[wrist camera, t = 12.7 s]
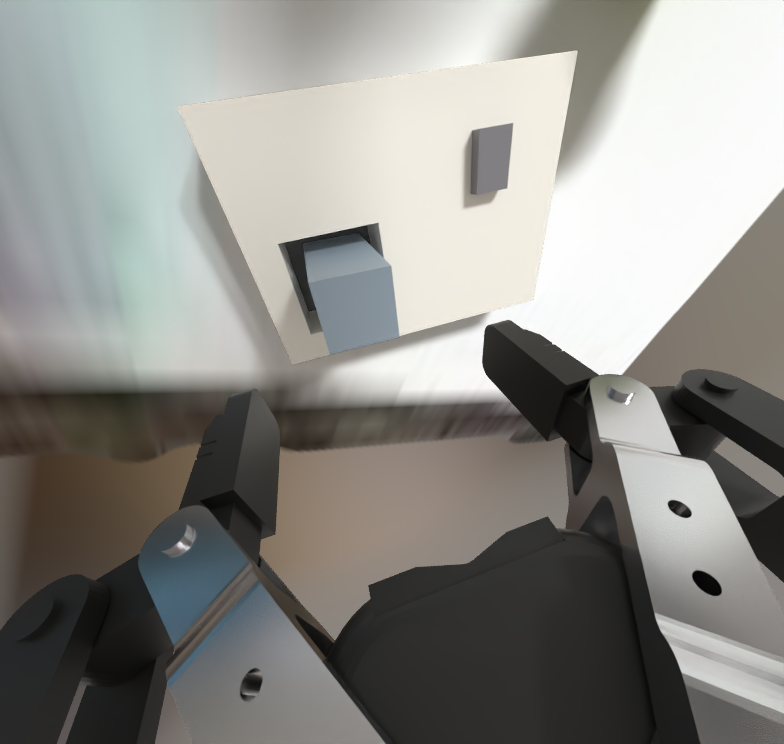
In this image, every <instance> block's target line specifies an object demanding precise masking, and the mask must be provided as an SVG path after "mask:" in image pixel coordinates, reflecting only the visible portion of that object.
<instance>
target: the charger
mask: <svg viewBox="0 0 784 744" xmlns="http://www.w3.org/2000/svg"><path fill="white" fill-rule="evenodd" d="M303 247H304V254H305V262H306V270H307V278H308V284H309V287H310V291H311V294H312V297H313V301H314V304H315V307H316V310H317V314H318V317H319V320H320V324H321V327H322V330H323V334H324V337H325V340H326V343H327V347H328V350H329V353H330V355H331V354H335V353H339V352H343V351H347V350H351V349H355V348H359V347H363V346H367V345H371V344H375V343H379V342H383V341H387V340H391V339H395V338H399V337H400V336H399V327H398V319H397V310H396V301H395V293H394V284H393V276H392V267H391V265H390V264H389V263H388V262H387V261H386V260H385V259H384V258H383V257H382V256H381V255H380V254H379V253H378V252H377V251H376V250H375V249H374V248H373V247H372V246H371V245H370V244H369V243H368V242H367V241H366V240H365V239H364V238H363V237H362V236H361V235H359V234H358V233H355V234H350V235H344V236H339V237H334V238H328V239H323V240H318V241H312V242H307V243H303Z"/></svg>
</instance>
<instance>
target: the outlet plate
mask: <svg viewBox="0 0 784 744" xmlns="http://www.w3.org/2000/svg"><path fill="white" fill-rule="evenodd" d="M577 53H578V50H576V51H569V52H562V53H554V54H547V55H540V56H533V57H526V58H519V59H511V60H504V61H497V62H490V63H483V64H476V65H468V66H461V67H454V68H447V69H440V70H433V71H425V72H418V73H411V74H404V75H397V76H390V77H382V78H375V79H368V80H361V81H354V82H347V83H339V84H332V85H325V86H318V87H311V88H304V89H296V90H289V91H282V92H275V93H268V94H261V95H253V96H246V97H239V98H232V99H225V100H218V101H210V102H203V103H196V104H189V105H182V106H177V108H178V110H179V112H180V114H181V117H182V119H183V121H184V123H185V126H186V128H187V130H188V132H189V135H190V137H191V139H192V141H193V144H194V146H195V148H196V150H197V152H198V155H199V157H200V159H201V161H202V164H203V166H204V168H205V170H206V173H207V175H208V177H209V179H210V182H211V184H212V186H213V188H214V191H215V193H216V195H217V197H218V199H219V202H220V204H221V206H222V208H223V211H224V213H225V215H226V217H227V220H228V222H229V224H230V226H231V229H232V231H233V233H234V235H235V238H236V240H237V242H238V244H239V246H240V249H241V251H242V253H243V255H244V258H245V260H246V262H247V264H248V267H249V269H250V271H251V273H252V276H253V278H254V280H255V282H256V285H257V287H258V289H259V291H260V294H261V296H262V298H263V300H264V302H265V305H266V307H267V309H268V311H269V314H270V316H271V318H272V320H273V323H274V325H275V327H276V329H277V332H278V334H279V336H280V338H281V341H282V343H283V345H284V347H285V349H286V352H287V354H288V356H289V358H290V361H291V363H292V365H295V364H298V363H302V362H306V361H309V360H313V359H317V358H320V357H324V356H328V355H330V353H329V350H328V347H327V343H326V340H325V337H324V334H323V330H322V327H321V324H320V320H319V317H318V314H317V310H315V311H311V312H308V309H307V306H306V303H305V300H304V298H303V295H302V292H301V289H300V286H299V283H298V281H297V278H296V275H295V272H294V269H293V266H292V263H291V261H290V258H289V255H288V252H287V249H286V246H285V244H284V242H289V241H294V240H299V239H303V238H308V237H313V236H318V235H322V234H327V233H332V232H336V231H341V230H346V229H351V228H355V227H360V226H365V225H367V227H368V232H369V238H370V244H371V246H372V247H373V248H374V249H375V250H376V251H377V252H378V253H379V254H380V255H381V256H382V257H383V258H384V259H385V260H386V261H387V262H388V263H389V264H390V265H391V267H392V276H393V284H394V293H395V301H396V310H397V319H398V327H399V336H401V335H405V334H409V333H413V332H416V331H420V330H424V329H427V328H431V327H435V326H438V325H442V324H446V323H449V322H453V321H457V320H460V319H464V318H468V317H472V316H475V315H479V314H483V313H486V312H490V311H494V310H497V309H501V308H505V307H508V306H512V305H516V304H519V303H523V302H527V301H531V300H533V299H534V293H535V288H536V282H537V276H538V271H539V265H540V260H541V254H542V248H543V243H544V237H545V232H546V226H547V221H548V215H549V209H550V204H551V198H552V193H553V187H554V182H555V176H556V170H557V165H558V159H559V154H560V148H561V143H562V137H563V131H564V126H565V120H566V115H567V109H568V104H569V98H570V92H571V87H572V81H573V76H574V70H575V65H576V59H577Z"/></svg>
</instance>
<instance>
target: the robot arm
mask: <svg viewBox="0 0 784 744" xmlns="http://www.w3.org/2000/svg"><path fill="white" fill-rule="evenodd" d="M482 363H483V368H484V371H485V373H486V375H487V376H488V377H489V379H490V380H491V381H492V382H493V383H494V384H495V385H496V386H497V387H498V388H499V389H500V391H501V392H502V393H503V394H504V395H505V396H506V397H507V398H508V399H509V400H510V401H511V403H512V404H513V405H514V406H515V407H516V408H517V409H518V410H519V411H520V412H521V413H522V414H523V416H524V417H525V418H526V419H527V420H528V421H529V422H530V423H531V424H532V425H533V426H534V428H535V429H536V430H537V431H538V432H539V433H540V434H541V435H542V436H543V437H544V438H545V440H546V441H551V440H554V439H557V438H560V437H562V438H563V439H564V440H565V441H566V444H565V448H564V451H565V463H566V475H567V487H568V500H569V504H568V512H567V518H566V527H565V529H556V528H555V526H554V525H553V524H552V522H551V521H550V519H549V518H548V517H545V518H542V519H540V520H537V521H535V522H532V523H529V524H527V525H524V526H521V527H519V528H516V529H514V530H511V531H509V532H506V533H505V534H504V535H503V536H501V537H500V538H499V539H498V540H497V541H495V542H494V543H493V544H492V545H491V546H490V547H488V548H487V549H486V550H485V551H483V552H482V553H481V554H480V555H479V556H477V557H476V558H475V559H474V560H473V561H471V562H470V563H467V564H461V565H444V566H430V567H415V568H413V569H410V570H407V571H405V572H402V573H399V574H397V575H394V576H392V577H389V578H387V579H384V580H381V581H379V582H376V583H374V584H371V585H369V592H370V597H371V599H370V600H369V601H368V602H367V603H365V604H364V605H363V606H362V607H361V608H360V609H359V610H358V611H357V612H356V613H355V614H354V615H353V616H352V617H351V619H350V620H349V621H348V623H347V624H346V625H345V626H344V628H343V629H342V631H341V632H340V634H339V636H338V637H337V639H336V640H334V639H333V638H332V636H331V635H330V634H329V633H328V632H327V631H326V629H325V628H324V627H323V626H322V625H321V624H320V623H319V622H318V621H317V619H316V618H315V617H313V615H312V614H311V613H310V612H308V610H307V609H306V608H305V607H304V606H303V605H302V604H301V603H300V601H299V600H298V599H297V598H296V597H295V596H294V594H293V593H292V592H291V591H290V590H289V588H288V587H287V586H286V585H285V584H284V582H283V581H282V580H281V579H280V578H279V577H278V575H277V574H276V573H275V572H274V571H273V570H272V568H271V567H270V566H269V565H268V564H267V562H266V561H265V560H264V559H263V558H262V556H261V555H259V552H260V541H261V539H263V538H266V537H269V536H272V535H275V531H276V512H277V493H278V473H279V454H280V431H279V427H278V424H277V422H276V420H275V418H274V416H273V414H272V413H271V411H270V409H269V408H268V406H267V404H266V402H265V401H264V399H263V397H262V396H261V394H260V392H259V391H258V390H257V389H252V390H248V391H245V392H241V393H237V394H234V395H230V396H229V398H228V401H227V405H226V408H225V412H224V414H221V415H218V416H216V417H215V419H214V420H213V421H212V423H211V424H210V425H209V426H208V428H207V429H206V430H205V433H204V436H203V439H202V442H201V447H200V448H199V451H198V454H197V460H195V463H194V466H193V469H192V472H191V475H190V478H189V481H188V484H187V487H186V490H185V493H184V496H183V499H182V501H181V504H180V507H179V510H178V511H177V512H175V513H173V514H172V515H170V516H169V517H167V518H166V519H165V520H164V521H163V522H161V523H160V524H159V525H158V526H157V527H156V528H155V529H154V530H153V532H152V533H151V534H150V535H149V537H148V539H147V540H146V542H145V543H144V545H143V547H142V549H141V552H140V554H138V555H136V556H135V557H133V558H132V559H130V560H128V561H127V562H125V563H123V564H122V565H120V566H118V567H117V568H115V569H113V570H112V571H110V572H109V573H107V574H105V575H104V576H102V577H100V578H99V579H97V580H92V579H90V578H87V577H85V576H83V575H78V574H75V575H69V576H66V577H63V578H60V579H58V580H56V581H54V582H52V583H51V584H49V585H47V586H46V587H44V588H43V589H41V590H40V591H39V592H37V593H36V594H35V595H33V596H32V597H31V598H30V599H29V600H28V601H26V602H25V603H24V604H23V605H22V606H21V607H20V608H19V609H18V610H17V611H16V612H15V613H14V614H13V615H12V617H11V618H10V619H9V620H8V621H7V622H6V624H5V625H4V626H3V628H2V629H1V630H0V744H57V741H58V738H59V736H60V733H61V730H62V728H63V725H64V722H65V720H66V717H67V714H68V712H69V709H70V706H71V704H72V701H73V698H74V696H75V693H76V690H77V687H78V685H87V686H86V689H85V691H84V694H83V697H82V700H81V703H80V705H79V708H78V711H77V714H76V716H75V719H74V722H73V725H72V728H71V730H70V733H69V736H68V739H67V742H66V744H155V739H156V734H157V729H158V724H159V719H160V715H161V710H162V705H163V700H164V695H165V690H166V686H167V682H168V685H169V688H170V690H171V693H172V695H173V698H174V700H175V702H176V705H177V707H178V710H179V712H180V715H181V717H182V720H183V722H184V724H185V727H186V730H187V732H188V734H189V737H190V739H191V742H192V744H784V611H783V610H782V607H781V606H780V604H779V602H778V600H777V598H776V596H775V594H774V592H773V590H772V588H771V586H770V584H769V582H768V580H767V578H766V576H765V574H764V572H763V570H762V568H761V566H760V564H759V562H758V560H759V561H760V562H762V563H763V564H764V565H765V566H766V567H767V568H768V569H769V570H770V571H772V572H773V573H774V574H775V575H776V576H777V577H778V578H779V579H780V580H781V581H783V582H784V496H782V497H781V498H780V497H778V496H776V495H775V494H773V493H772V492H770V491H769V490H768V489H766V488H765V487H763V486H762V485H761V484H759V483H758V482H756V481H755V480H754V479H752V478H751V477H750V476H748V475H747V474H745V473H744V472H743V471H741V470H740V469H738V468H737V467H736V466H734V465H733V464H732V463H730V462H729V461H728V460H726V459H725V458H723V457H722V456H721V455H719V454H718V453H716V452H715V451H714V449H715V448H716V447H717V446H718V445H719V444H720V443H721V442H722V441H723V440H724V439H725V438H726V437H728V438H729V439H731V440H732V441H734V442H735V443H736V444H738V445H739V446H741V447H742V448H744V449H745V450H747V451H748V452H750V453H752V454H753V455H754V456H756V457H758V458H759V459H760V460H762V461H763V462H765V463H767V464H768V465H769V466H771V467H772V468H774V469H775V470H777V471H778V472H779V473H780V474H781V475H782V476H783V477H784V401H783V400H781V399H779V398H777V397H775V396H773V395H771V394H769V393H767V392H765V391H763V390H761V389H759V388H757V387H755V386H754V385H752V384H750V383H748V382H746V381H744V380H742V379H740V378H737V377H735V376H732V375H729V374H726V373H723V372H718V371H712V370H704V369H703V370H702V369H697V370H690V371H687V372H685V373H684V374H683V375H682V377H681V378H680V380H679V381H678V383H677V384H676V386H666V387H647V386H646V385H644V384H643V383H641V382H639V381H637V380H635V379H632V378H629V377H626V376H622V375H615V374H605V375H598V374H597V373H595V372H594V371H592V370H591V369H589V368H588V367H587V366H585V365H584V364H582V363H581V362H579V361H578V360H576V359H575V358H573V357H572V356H571V355H569V354H568V353H566V352H565V351H562V350H561V349H560V348H559V347H557V346H556V345H552V342H550V341H549V340H547V339H546V338H544V337H543V336H541V335H539V334H537V333H534V332H531V331H528V330H523V329H522V328H520V327H519V326H518V325H516V324H515V323H513V322H512V321H510V320H506V321H502V322H499V323H495V324H491V325H488V326H487V327H486V329H485V334H484V346H483V359H482ZM757 559H758V560H757ZM174 650H175V653H174V655H173V652H174Z"/></svg>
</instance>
